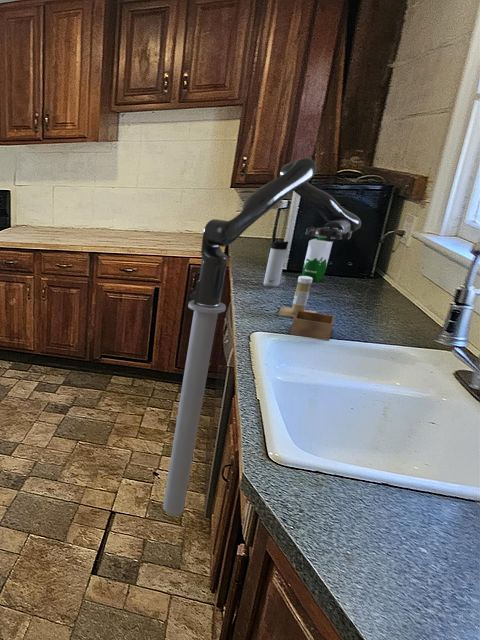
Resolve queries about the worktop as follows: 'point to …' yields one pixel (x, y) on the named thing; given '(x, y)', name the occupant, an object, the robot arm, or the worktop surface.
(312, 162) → the robot arm
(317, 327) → the cardboard box
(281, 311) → the cork mat
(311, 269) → the milk carton
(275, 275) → the travel mug
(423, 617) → the worktop surface
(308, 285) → the sprinkles bottle
